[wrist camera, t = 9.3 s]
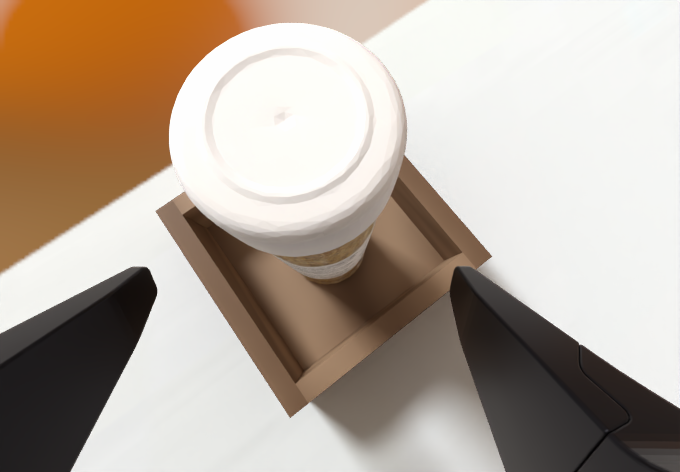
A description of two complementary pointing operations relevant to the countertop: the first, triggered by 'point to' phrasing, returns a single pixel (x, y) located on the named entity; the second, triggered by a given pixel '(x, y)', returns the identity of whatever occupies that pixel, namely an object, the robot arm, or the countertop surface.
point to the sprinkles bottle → (291, 144)
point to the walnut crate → (328, 287)
